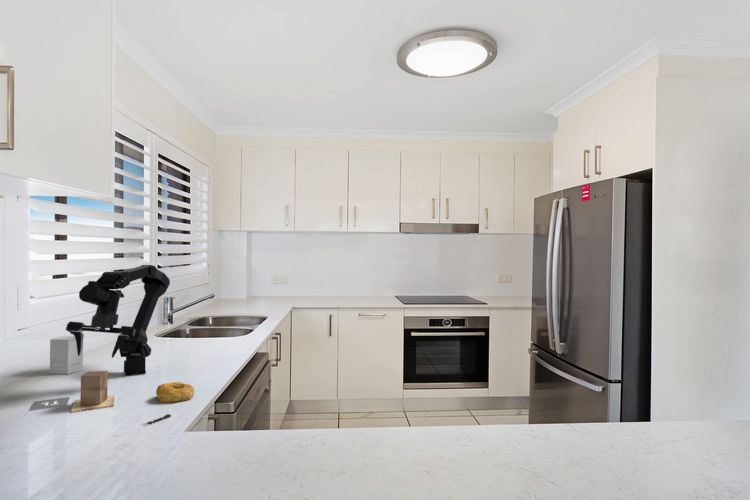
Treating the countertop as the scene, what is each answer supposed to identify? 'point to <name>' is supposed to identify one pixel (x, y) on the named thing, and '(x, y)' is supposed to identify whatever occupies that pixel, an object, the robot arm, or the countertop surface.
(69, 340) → the supplement box
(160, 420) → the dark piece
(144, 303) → the robot arm
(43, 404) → the gray mat
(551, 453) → the countertop surface
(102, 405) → the coaster
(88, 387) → the walnut block
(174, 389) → the bagel
